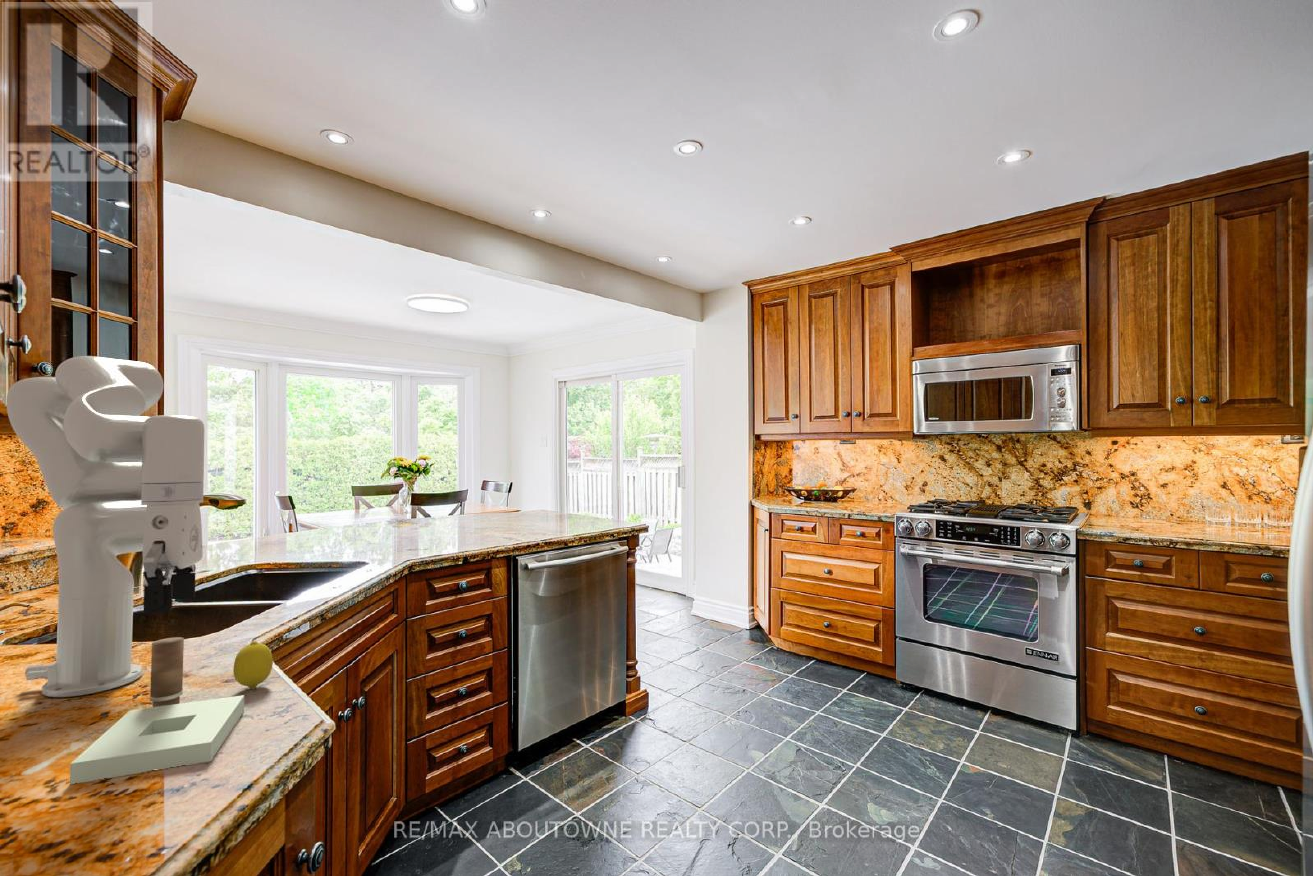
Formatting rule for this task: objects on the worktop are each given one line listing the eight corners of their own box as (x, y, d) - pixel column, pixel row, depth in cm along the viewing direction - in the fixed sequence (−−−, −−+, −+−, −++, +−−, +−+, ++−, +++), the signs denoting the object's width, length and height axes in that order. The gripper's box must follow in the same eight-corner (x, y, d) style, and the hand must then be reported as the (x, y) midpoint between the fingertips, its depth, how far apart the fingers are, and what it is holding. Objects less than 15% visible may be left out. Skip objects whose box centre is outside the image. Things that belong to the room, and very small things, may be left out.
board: (69, 784, 70) (70, 763, 70) (129, 727, 85) (130, 710, 85) (210, 761, 75) (211, 742, 76) (243, 711, 90) (244, 695, 90)
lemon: (237, 685, 100) (238, 638, 101) (275, 680, 103) (276, 635, 103) (228, 697, 95) (229, 648, 96) (268, 692, 98) (269, 644, 98)
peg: (144, 720, 87) (146, 646, 87) (155, 709, 91) (157, 639, 91) (176, 716, 89) (178, 643, 89) (186, 705, 92) (188, 636, 93)
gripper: (182, 496, 84) (180, 615, 83) (219, 491, 100) (217, 591, 99) (116, 498, 81) (113, 621, 81) (164, 493, 97) (162, 596, 96)
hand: (170, 604), depth 90 cm, fingers open, 9 cm apart
